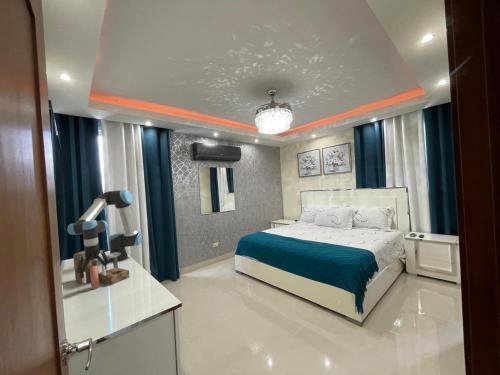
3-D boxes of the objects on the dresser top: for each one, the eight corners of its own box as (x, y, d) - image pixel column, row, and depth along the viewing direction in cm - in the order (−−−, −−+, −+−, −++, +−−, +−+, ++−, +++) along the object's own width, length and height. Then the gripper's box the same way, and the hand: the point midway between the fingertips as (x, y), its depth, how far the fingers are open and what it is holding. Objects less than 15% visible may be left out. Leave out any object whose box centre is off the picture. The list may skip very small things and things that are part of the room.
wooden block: (87, 283, 151) (84, 254, 150) (75, 282, 153) (72, 254, 152) (99, 276, 160) (97, 249, 160) (88, 276, 162) (85, 249, 162)
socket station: (116, 272, 167) (115, 252, 166) (132, 276, 157) (130, 254, 157) (93, 281, 153) (91, 259, 152) (108, 286, 143) (106, 262, 143)
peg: (97, 286, 145) (95, 265, 144) (100, 287, 143) (98, 265, 142) (90, 288, 141) (88, 267, 141) (93, 290, 139) (91, 268, 139)
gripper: (107, 239, 153) (110, 271, 154) (66, 249, 133) (70, 285, 134) (113, 240, 150) (116, 272, 150) (72, 250, 129) (76, 287, 130)
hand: (94, 278), depth 142 cm, fingers open, 11 cm apart
